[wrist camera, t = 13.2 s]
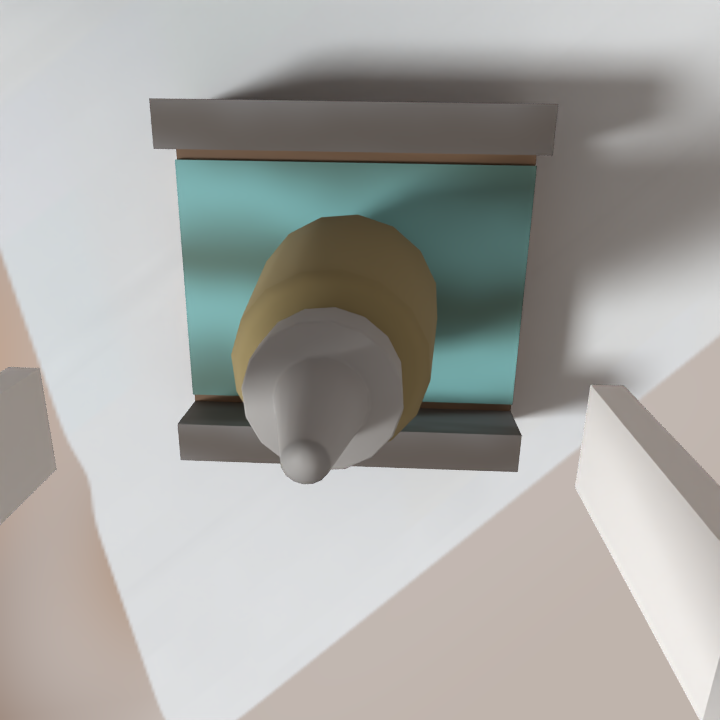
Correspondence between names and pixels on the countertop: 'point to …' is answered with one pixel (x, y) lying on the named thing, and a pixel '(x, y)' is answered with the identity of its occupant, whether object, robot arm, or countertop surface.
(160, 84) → the countertop surface
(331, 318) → the squeeze bottle
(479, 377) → the dock
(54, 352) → the countertop surface
